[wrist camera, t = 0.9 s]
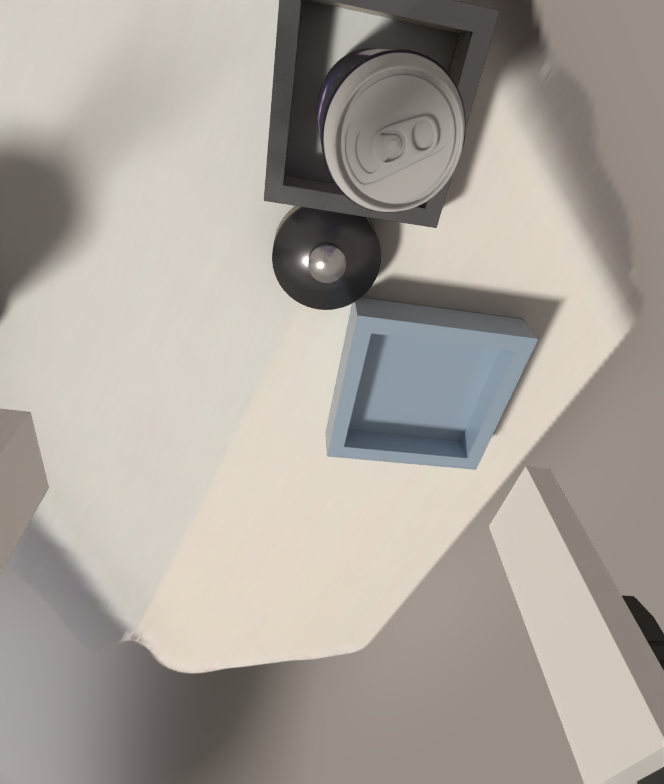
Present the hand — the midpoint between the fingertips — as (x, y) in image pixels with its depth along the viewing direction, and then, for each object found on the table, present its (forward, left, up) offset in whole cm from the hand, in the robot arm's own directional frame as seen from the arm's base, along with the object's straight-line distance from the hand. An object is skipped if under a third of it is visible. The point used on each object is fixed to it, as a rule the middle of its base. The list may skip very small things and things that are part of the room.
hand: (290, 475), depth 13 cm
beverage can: (-7, +3, -22) cm, 24 cm away
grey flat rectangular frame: (-4, +3, -22) cm, 23 cm away
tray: (+11, +11, -22) cm, 27 cm away
